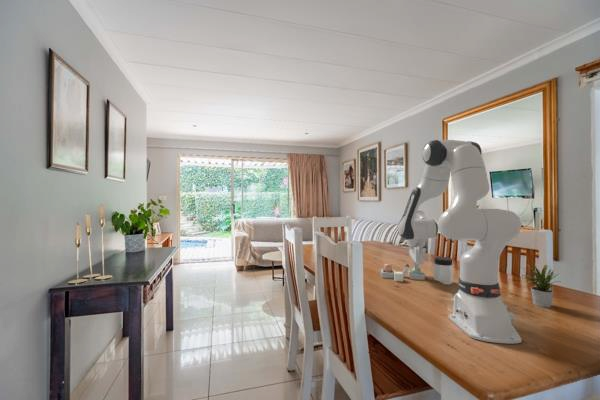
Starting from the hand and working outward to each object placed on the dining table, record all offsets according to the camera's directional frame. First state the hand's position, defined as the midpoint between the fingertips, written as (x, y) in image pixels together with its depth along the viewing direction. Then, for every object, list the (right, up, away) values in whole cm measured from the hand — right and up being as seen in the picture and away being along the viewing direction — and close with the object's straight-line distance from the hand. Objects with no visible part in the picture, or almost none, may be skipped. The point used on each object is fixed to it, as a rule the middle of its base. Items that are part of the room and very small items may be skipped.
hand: (416, 268), depth 146 cm
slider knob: (-11, -5, -4) cm, 12 cm away
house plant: (+36, -6, -33) cm, 49 cm away
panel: (-7, -6, -2) cm, 9 cm away
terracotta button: (-14, -3, +3) cm, 14 cm away
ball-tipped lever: (-7, -4, +1) cm, 8 cm away
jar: (+12, -6, -4) cm, 14 cm away
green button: (0, -4, 0) cm, 4 cm away
